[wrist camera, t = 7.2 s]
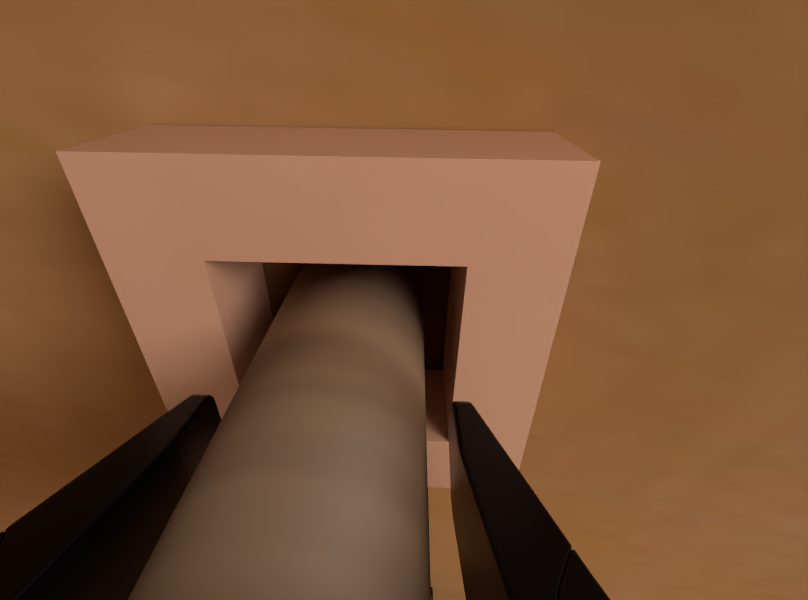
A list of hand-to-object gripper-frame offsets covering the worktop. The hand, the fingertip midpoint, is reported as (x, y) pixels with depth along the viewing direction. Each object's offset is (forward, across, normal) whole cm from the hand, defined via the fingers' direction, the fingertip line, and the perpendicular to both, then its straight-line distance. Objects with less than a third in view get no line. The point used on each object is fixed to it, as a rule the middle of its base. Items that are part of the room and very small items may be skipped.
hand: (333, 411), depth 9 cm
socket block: (+4, 0, 0) cm, 4 cm away
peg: (+5, 0, 0) cm, 5 cm away
